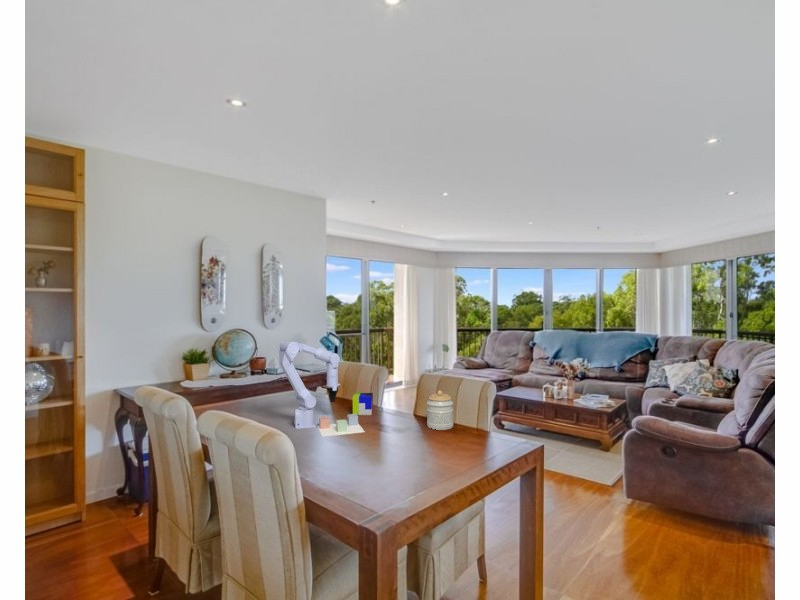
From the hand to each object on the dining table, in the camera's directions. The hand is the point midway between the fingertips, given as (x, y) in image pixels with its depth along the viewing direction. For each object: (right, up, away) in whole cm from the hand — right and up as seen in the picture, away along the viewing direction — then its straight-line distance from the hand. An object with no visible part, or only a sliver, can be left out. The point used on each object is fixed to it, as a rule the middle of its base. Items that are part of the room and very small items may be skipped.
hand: (332, 401), depth 221 cm
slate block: (+11, -9, -9) cm, 17 cm away
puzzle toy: (+15, -10, +13) cm, 22 cm away
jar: (+55, -9, -13) cm, 57 cm away
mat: (+6, -9, -16) cm, 19 cm away
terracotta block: (-2, -9, -13) cm, 16 cm away
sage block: (+7, -9, -19) cm, 22 cm away
